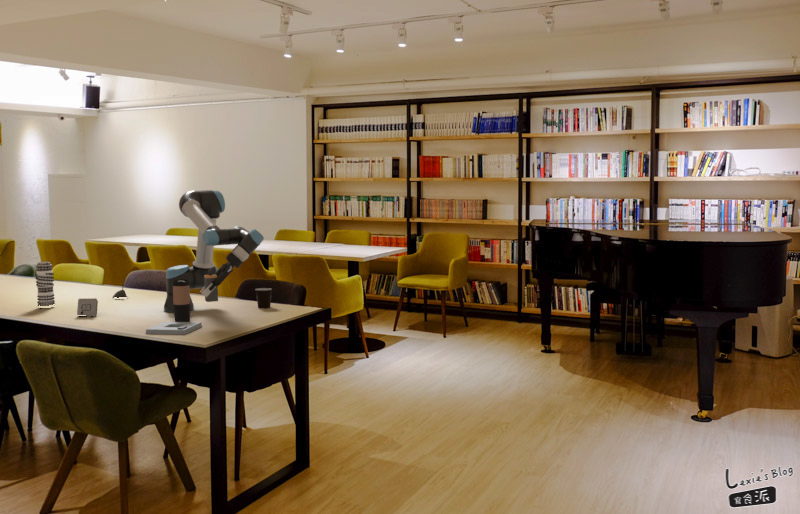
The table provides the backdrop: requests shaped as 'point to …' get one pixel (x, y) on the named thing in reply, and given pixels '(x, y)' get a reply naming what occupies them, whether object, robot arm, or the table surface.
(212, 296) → the plug
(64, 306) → the table surface
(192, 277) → the robot arm
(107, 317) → the table surface
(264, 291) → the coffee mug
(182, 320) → the travel mug
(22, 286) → the table surface
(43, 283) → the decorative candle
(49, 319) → the table surface
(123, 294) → the sword in stone
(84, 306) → the electrical switch
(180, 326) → the socket plate
